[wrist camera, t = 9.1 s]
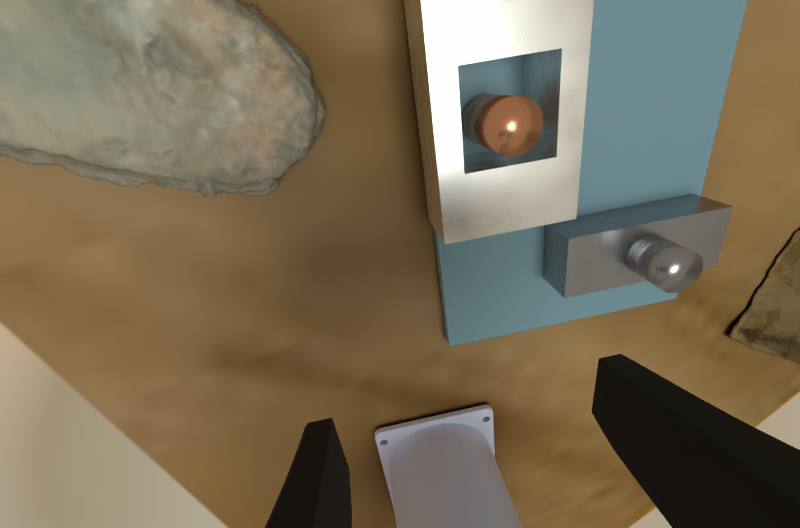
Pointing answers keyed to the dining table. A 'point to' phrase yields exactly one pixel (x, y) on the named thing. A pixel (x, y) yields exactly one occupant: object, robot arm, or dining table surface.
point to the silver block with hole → (541, 81)
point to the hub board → (601, 156)
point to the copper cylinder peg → (502, 123)
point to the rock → (775, 309)
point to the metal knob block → (636, 246)
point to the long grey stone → (155, 93)
